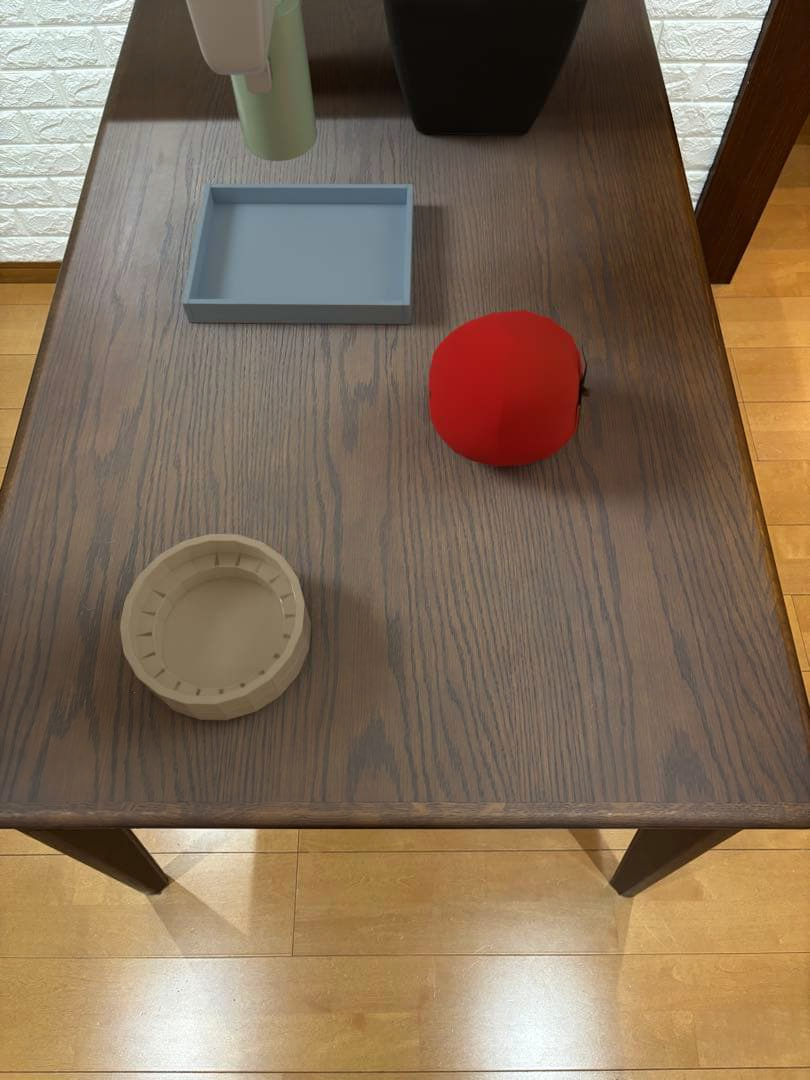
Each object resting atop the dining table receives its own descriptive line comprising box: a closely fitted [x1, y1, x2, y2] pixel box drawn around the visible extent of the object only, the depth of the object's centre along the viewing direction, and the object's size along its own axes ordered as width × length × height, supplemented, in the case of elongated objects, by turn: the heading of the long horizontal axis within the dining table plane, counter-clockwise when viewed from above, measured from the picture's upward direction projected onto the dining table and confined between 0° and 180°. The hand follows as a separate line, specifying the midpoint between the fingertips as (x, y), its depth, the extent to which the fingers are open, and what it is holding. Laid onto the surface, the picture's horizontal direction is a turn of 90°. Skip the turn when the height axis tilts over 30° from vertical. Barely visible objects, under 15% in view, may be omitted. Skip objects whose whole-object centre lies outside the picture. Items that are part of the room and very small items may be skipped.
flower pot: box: [382, 0, 588, 135], centre depth 86 cm, size 19×19×17 cm
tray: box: [181, 182, 414, 325], centre depth 81 cm, size 21×16×3 cm
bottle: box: [229, 0, 318, 162], centre depth 60 cm, size 6×6×17 cm
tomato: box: [427, 309, 592, 467], centre depth 68 cm, size 13×13×13 cm
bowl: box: [119, 533, 312, 721], centre depth 62 cm, size 13×13×5 cm
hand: (266, 56), depth 61 cm, fingers closed on bottle, 6 cm apart
